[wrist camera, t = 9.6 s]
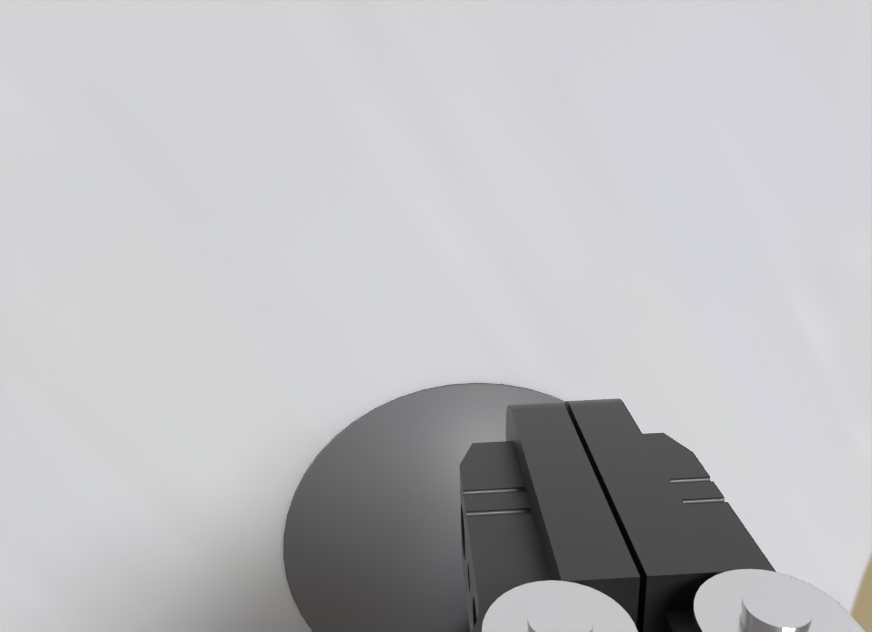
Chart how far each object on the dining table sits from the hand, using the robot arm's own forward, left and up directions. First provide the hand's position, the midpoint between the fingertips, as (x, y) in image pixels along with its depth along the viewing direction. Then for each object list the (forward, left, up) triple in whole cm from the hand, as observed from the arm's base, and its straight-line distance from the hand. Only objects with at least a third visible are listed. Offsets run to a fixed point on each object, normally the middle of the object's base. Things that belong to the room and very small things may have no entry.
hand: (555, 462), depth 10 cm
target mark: (-8, -11, -15) cm, 20 cm away
